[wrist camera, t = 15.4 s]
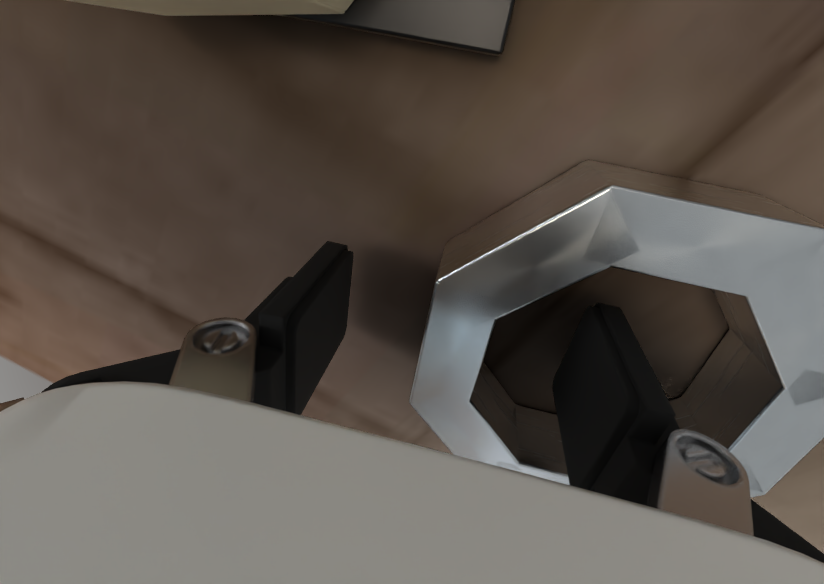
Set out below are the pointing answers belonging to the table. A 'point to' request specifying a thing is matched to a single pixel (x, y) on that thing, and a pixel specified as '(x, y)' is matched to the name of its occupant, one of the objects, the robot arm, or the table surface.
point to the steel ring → (652, 255)
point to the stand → (429, 21)
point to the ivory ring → (226, 6)
